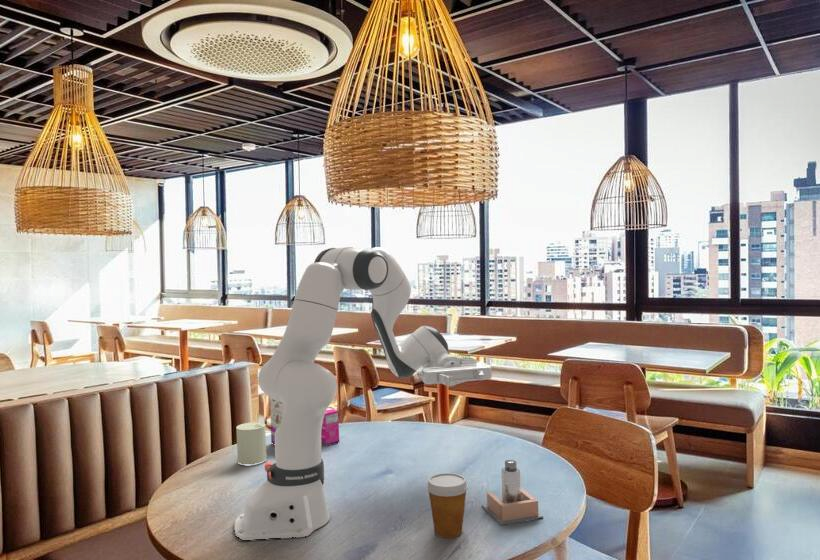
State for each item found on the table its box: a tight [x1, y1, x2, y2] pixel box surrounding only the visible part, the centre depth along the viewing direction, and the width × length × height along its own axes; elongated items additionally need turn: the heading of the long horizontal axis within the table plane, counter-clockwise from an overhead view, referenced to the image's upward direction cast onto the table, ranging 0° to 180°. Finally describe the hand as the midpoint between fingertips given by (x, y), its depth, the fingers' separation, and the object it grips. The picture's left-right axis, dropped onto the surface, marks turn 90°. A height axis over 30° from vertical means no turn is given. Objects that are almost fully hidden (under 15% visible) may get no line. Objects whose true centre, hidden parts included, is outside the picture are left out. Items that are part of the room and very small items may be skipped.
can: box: [235, 421, 267, 464], centre depth 182 cm, size 9×9×12 cm
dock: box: [481, 487, 544, 526], centre depth 139 cm, size 11×11×4 cm
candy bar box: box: [269, 397, 284, 445], centre depth 197 cm, size 11×5×16 cm, turn 40°
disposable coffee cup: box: [426, 472, 469, 539], centre depth 130 cm, size 10×10×12 cm
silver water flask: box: [501, 459, 521, 504], centre depth 139 cm, size 4×4×12 cm
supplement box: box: [321, 407, 340, 446], centre depth 199 cm, size 6×6×12 cm
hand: (466, 378), depth 155 cm, fingers open, 8 cm apart
